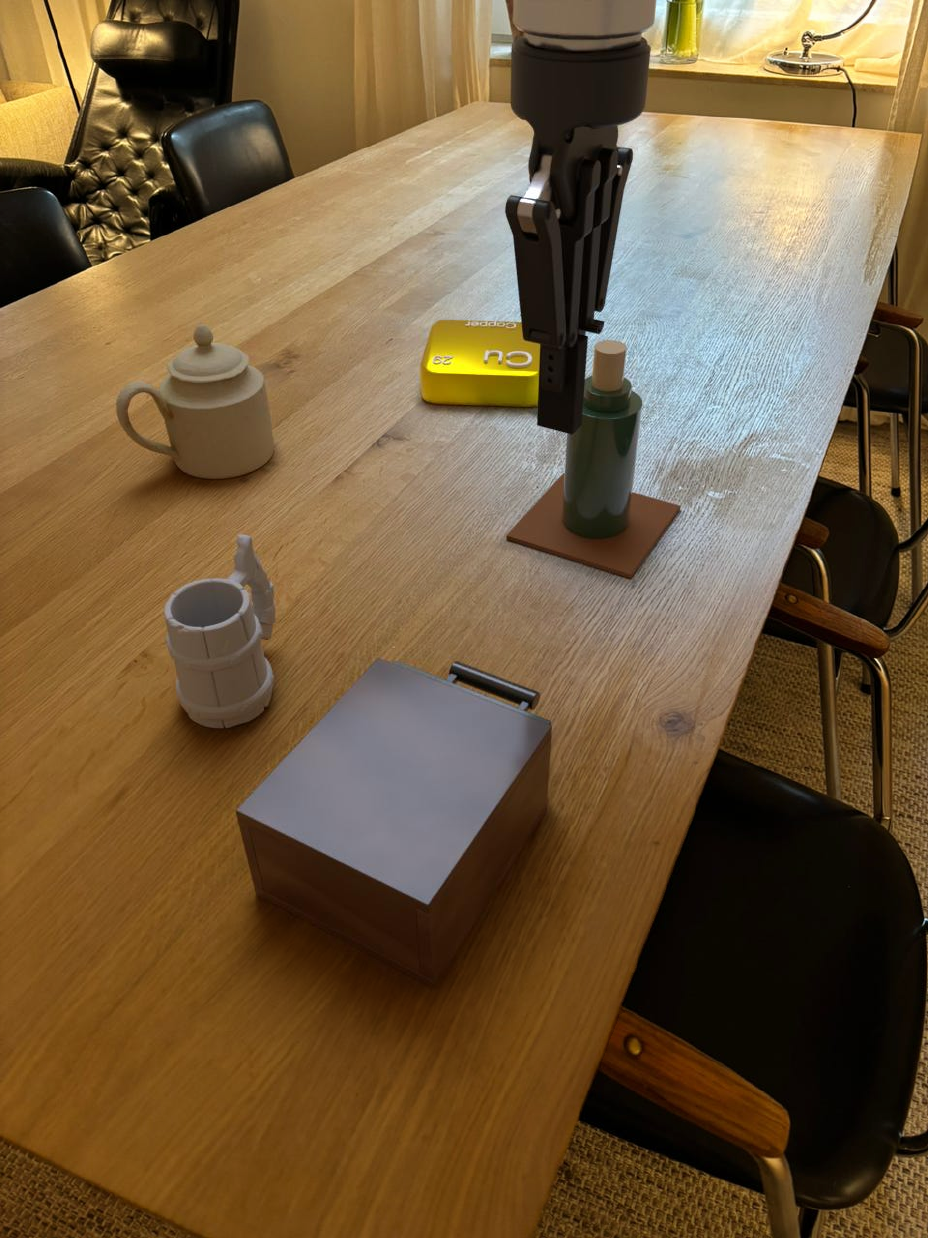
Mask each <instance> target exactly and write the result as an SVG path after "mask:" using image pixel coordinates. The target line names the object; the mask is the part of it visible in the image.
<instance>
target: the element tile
mask: <svg viewBox="0 0 928 1238" xmlns="http://www.w3.org/2000/svg"><path fill="white" fill-rule="evenodd" d="M539 362H540V344H538V343H533V342H529V341H525V340H524V339H523V333H522V323H521V321H505V320H502V321H501V320H499V321H498V320H471V319H470V320H468V319H439V320H436V322H435V323H433V324H432V325H431V326H430V331H429V334H428V337H427V341H426V345H425V347H424V350H423V354H422V358H421V360H420V364H419V376H420V377H419V378H420V394H421V398H422V399H423V400H424V401H425V402H427V403H430V404H434V405H451V406H452V405H453V406H475V407H476V406H478V407H505V408H506V407H507V408H535V407H538V387H539Z"/></svg>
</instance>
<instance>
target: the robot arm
mask: <svg viewBox="0 0 928 1238" xmlns="http://www.w3.org/2000/svg"><path fill="white" fill-rule="evenodd" d="M656 8H657V0H512V24H513V25H514V27H515V28H516V29H517V30H518V31H520V32H521V33H523V35H520V36H518V37H517V38H516V40H514V43H513V44H512V45H511V47H510V50H511V51H510V108H511V110H512V112H513V114H514V115H515V116H516V117H517V118H519V119H520V120H521V121H522V120H523V121H526V123H528V125H530V127H531V128H532V130H533V136H532V142H531V148H530V153H529V156H528V164H527V167H528V168H527V169H528V174H529V175H528V179H529V184H528V186H527V189H526V190H525V193H524V195H523V196H519V195H514V194H510V195H509V196H508V197H507V200H506V202H505V205H504V206H505V207H504V214H505V217H506V220H507V224H508V226H509V229H510V231H511V235H512V238H513V239H512V240H513V249H514V260H515V269H516V270H515V271H516V280H517V290H518V301H519V311H520V319H521V320H520V322H521V323H522V333H523V339H524V340H525V341H529V342H533V343H538V344H540V362H539V387H538V406H537V413H536V414H537V416H536V426H538V427H541V428H545V429H548V430H553V431H556V432H559V433H560V432H561V433H565V434H567V433H568V434H571V435H573V434H574V433H575V432H576V431H577V430H578V429H579V427H580V426H581V425H582V413H583V399H584V385H585V379H586V371H587V370H586V369H587V356H588V344H589V336H588V335H586V334H587V333H592V334H595V335H601V333H602V331H603V330H604V327H605V322H606V321H604V320H600V319H595V312H596V313H601V312H602V311H603V310H604V309H605V306H606V300H607V294H608V288H609V283H610V276H611V270H612V264H613V257H614V252H615V246H616V240H617V234H618V228H619V222H620V216H621V211H622V205H623V199H624V192H625V189H626V185H627V181H628V177H629V175H630V171H631V167H632V163H633V160H634V151H633V148H630V147H624V146H618V142H619V141H618V140H619V126H621V125H622V126H623V125H625V124H629V123H630V122H633V121H634V120H636V119H638V118H639V117H640V116H641V115H642V113H643V112H644V110H645V107H646V101H647V93H648V91H647V90H648V81H649V71H650V61H651V50H652V48H651V45H650V44H648V41H647V39H646V38H645V37H643V36H642V35H643V33H646V32H648V31H649V30H650V29H651V28H652V27H653V26H654V24H655V19H656Z"/></svg>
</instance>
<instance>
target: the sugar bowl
mask: <svg viewBox="0 0 928 1238" xmlns="http://www.w3.org/2000/svg"><path fill="white" fill-rule="evenodd" d="M193 340H194V343H195V344H194V345H190V346H188V347H186V348H184V349H182V350H181V351H180V352H179V353H178V354H177V355H176V356H174V357H173V358H172V359H171V360H170V361H169V362H168V364H167V366H166V369H167V371H168V373H169V375H167V376H166V377H165V378H164V379H162V382H161V383H160V385H159V389H157V388H156V387H155V386H154V385H152V384H150V383H149V382H146V381H143V380H139V381H138V380H137V381H131V382H130V383H127V384H125V385H124V387H122V388H121V389H120V391H119V393H118V395H117V398H116V403H115V411H116V412H115V413H116V416H117V420H118V422H119V424H120V427H121V428H122V429H123V431H124V432H125V434H126V435H127V436H128V438H130V439H131V440H132V441H133V442H134V443H136V444H137V445H139V446H141V447H142V448H144V449H146V450H148V451H151V452H153V453H156V454H160V455H161V454H162V455H165V456H169V457H170V458H172V459H173V460H174V463H175V465H176V466H177V468H178V469H180V470H181V471H182V472H184V473H185V474H187V475H189V476H192V477H196V478H200V479H208V480H223V479H232V478H237V477H241V476H244V475H246V474H249V473H251V472H254V471H256V470H258V469H260V468H262V467H263V466H264V465H266V464H267V463H268V462H269V461H270V460H271V458H272V457H273V454H274V452H275V442H274V434H273V428H272V427H273V426H272V420H271V419H272V418H271V411H270V404H269V399H268V393H267V387H266V382H265V378H264V377H265V376H264V375H263V373H262V372H261V371H260V370H259V369H258V368H256V367H254V366H252V365H250V364H249V363H250V358H249V355H248V354H247V353H245V352H244V351H243V350H241V349H239V348H237V347H234V346H231V345H229V344H226V343H221V342H213V340H214V334H213V333H212V330H211V329H210V328H209V326H207V325H206V324H204V323H201V322H200V323H199V324H197V326H196V327H195V328H194V331H193ZM141 393H145V394H148V395H150V396H151V398H152V400H153V401H154V403H155V405H156V406H157V409H158V411H159V413H160V414H161V417H162V418H163V420H164V425H165V430H166V432H167V436H168V440H169V445H170V446H169V445H166V444H164V443H161V442H157V441H154V440H151V439H149V438H146V437H145V436H143V435H141V434H139V432H137V431H136V430H135V428H134V427H133V425H132V423H131V421H130V416H129V408H130V404H131V401H132V399H133V398H134V397H135V396H137V395H138V394H141Z"/></svg>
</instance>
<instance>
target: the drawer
mask: <svg viewBox="0 0 928 1238" xmlns="http://www.w3.org/2000/svg"><path fill="white" fill-rule="evenodd" d="M392 663H393V664H396V665H398V666H401V667H403V668H406V669H408V670H411V671H413V672H416V673H419V674H421V675H424V676H426V677H429V678H431V679H434V680H436V681H439V682H442V683H444V684H447V685H449V686H452V687H454V688H457V689H459V690H462V691H465V692H467V693H470V694H472V695H475V696H477V697H480V698H482V699H485V700H488V701H490V702H493V703H495V704H498V705H500V706H503V707H506V708H508V709H511V710H513V711H516V712H518V713H521V714H523V715H526V716H529V717H531V718H534V719H536V720H539V721H541V722H544V723H546V724H549V725H551V726H552V720H550V719H548V718H544V717H542V716H539V715H538V714H534V713H532V712H530V711H529V710H531V711H534V710H535V709H536V708H537V707H538V705H539V702H540V699H541V692H540V691H538V690H534V689H532V688H530V687H527V686H524V685H522V684H520V683H516V682H514V681H512V680H509V679H506V678H503V677H500V676H498V675H496V674H492V673H490V672H487V671H484V670H482V669H479V668H477V667H475V666H471V665H469V664H466V663H463V662H461V661H458V660H455V661H453V662H452V663H451V666H450V668H449V671H448V676H447V677H446V679H444V678H441V677H439V676H437V675H434V674H431V673H429V672H427V671H424V670H421V669H419V668H416V667H413V666H411V665H409V664H406V663H403V662H401V661H398V660H394V661H392ZM458 683H461V684H464V685H466V686H469V687H472V688H474V689H476V690H479V691H481V692H484V693H488V694H489V695H492V696H494V697H497V698H500V699H502V700H505V701H507V702H510V703H512V704H515V705H518V706H514V705H511V704H509V703H506V702H503V701H502V700H498V699H496V698H493V697H490V696H488V695H486V694H483V693H480V692H478V691H474V690H473V689H471V688H468V687H465V686H462V685H460V684H458Z"/></svg>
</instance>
